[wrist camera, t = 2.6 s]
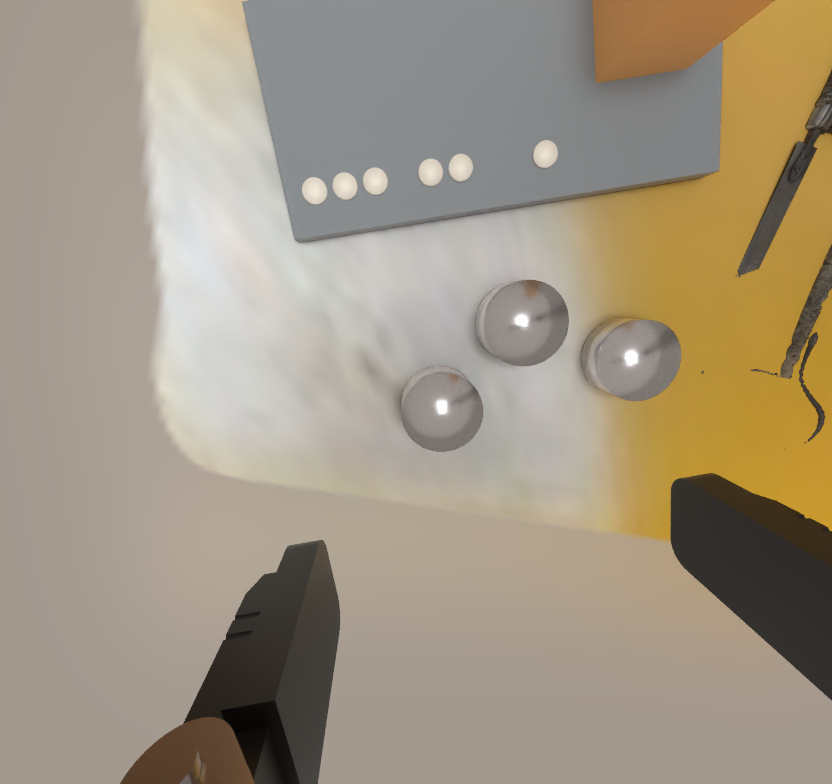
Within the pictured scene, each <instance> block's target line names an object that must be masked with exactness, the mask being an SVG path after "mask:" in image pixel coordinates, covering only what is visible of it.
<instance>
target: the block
mask: <svg viewBox="0 0 832 784" xmlns="http://www.w3.org/2000/svg"><path fill="white" fill-rule="evenodd" d="M773 1H774V0H592V2H593V26H594V51H595V75H596V83H601V82H607V81H614V80H620V79H626V78H633V77H639V76H645V75H652V74H658V73H665V72H671V71H677V70H684V69H688V68H689V67H690V66H691V65H693V64H694V63H695V62H696V61H698V60H699V59H700V58H702V57H703V56H704V55H705V54H707V53H708V52H709V51H711V50H712V49H713V48H714V47H716V46H717V45H718V44H719V43H721V42H722V41H723V40H725V39H726V38H727V37H728V36H730V35H731V34H732V33H734V32H735V31H736V30H737V29H739V28H740V27H741V26H743V25H744V24H745V23H746V22H748V21H749V20H750V19H751V18H753V17H754V16H755V15H757V14H758V13H759V12H760V11H762V10H763V9H764V8H766V7H767V6H768V5H769V4H771V3H772V2H773Z"/></svg>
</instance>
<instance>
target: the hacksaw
mask: <svg viewBox="0 0 832 784" xmlns="http://www.w3.org/2000/svg"><path fill="white" fill-rule="evenodd" d="M806 129H808V130H809V132H808V134H807V137H806V139H805V141H804V143H803V142H800V141H798V144H797V145H796V148H795V149H794V152H793V153H792V157H791V158H790V161H789V162H788V165H787V167H786V169H785V171H784V173H783V175H782V177H781V180H780V181H779V184H778V186H777V189H776V190H775V193H774V194H773V197H772V198H771V201H770V202H769V205H768V207H767V209H766V212H765V213H764V216H763V217H762V220H761V221H760V224H759V225H758V228H757V230H756V232H755V234H754V236H753V239H752V240H751V243H750V244H749V247H748V249H747V251H746V254H745V255H744V258H743V259H742V262H741V264H740V266H739V269H738V275H739V278H740V276H741V275H743V274H745V273H748V272H751V271H753V270H756V269H759V267H760V265H761V263H762V261H763V259H764V257H765V255H766V253H767V251H768V249H769V246H770V244H771V242H772V240H773V238H774V236H775V234H776V232H777V230H778V228H779V226H780V224H781V222H782V220H783V218H784V216H785V214H786V212H787V209H788V207H789V205H790V203H791V201H792V199H793V197H794V195H795V193H796V191H797V189H798V187H799V185H800V183H801V181H802V179H803V177H804V174H805V172H806V170H807V168H808V166H809V164H810V162H811V160H812V158H813V156H814V154H815V152H816V150H817V148H815V147H813V146H814V143H815V141H816V140H817V138H818V136H819V135H820V134H824V133H826V132H827V131H828V132H830V133H832V71H831V74H830V76H829V78H828V80H827V83H826V85H825V87H824V89H823V91H822V93H821V96H820V98H819V99H818V100H817V102H816V103H815V108H814V110H813V112H812V113H811V115H810V118H809V120H808V122H807V124H806ZM736 276H737V275H736ZM831 289H832V245H831V247H830V249H829V252H828V254H827V256H826V258H825V260H824V263H823V266H822V267H821V269H820V271H819V274H818V276H817V278H816V280H815V282H814V285H813V287H812V289H811V292H810V294H809V296H808V299H807V301H806V303H805V306H804V308H803V310H802V313H801V315H800V318H799V321H798V323H797V326H796V328H795V331H794V334H793V337H792V343H791V345H790V346H789V348H788V350H787V353H786V359H785V360H784V363H783V364H782V367H781V373H780V377H783V378H788V379H791V377H792V376H791V375H792V372H793V366H794V365H795V364H796V363H797V362H798V360H799V358H800V353H801V350H802V349H803V347H804V346H805V343H806V341H807V339H808V338H809V334H810V332H811V331H812V328H813V326H814V324H815V322H816V320H817V318H818V315H819V314H820V311H819V310H821V309H822V307H821V304H822V302H823V301H824V300H825V299H826V298H827V297H828V292H829V291H830V290H831ZM817 339H818V335H817V332H816V333H814V334H813V335H812V336H811V337H810V339H809V342H808V347H807V349H806V352H805V354H804V357H803V362H802V363H801V369H800V370H799V374H800V377H799V381H800V382H801V386H802V387H803V391H804V392H805V393H806V396H807V397H808V398H809V401H810V402H811V403H812V405H813V406H814V407H815V408H816V411H817V413H818V415H819V418H818V425H817V428H816V431H815V432H814V433H813V435H812V437H810V438H809V439H808V441H810V440H811V439H812V438H813V437H815V436H816V435H817V433H818V432H819V431H820V430H821V428H822V426H823V424H824V419H825V416H824V411H823V410H822V407H821V406H820V404H819V403H818V402H817V401H816V400H815V399H814V398H813V396H812V395H811V394H810V393H809V390H808V389H807V388H806V386H805V385H804V384H803V383H804V381H803V379H802V376H803V370H804V365H805V363H806V361H807V358H808V357H809V355H810V352H811V350H812V348H813V347H814V345H815V344H816V342H817ZM750 371H758V372H764V373H768V374H770V373H769V371H768V372H766V371H762V370H758V369H753V370H750ZM701 373H702V374H703V373H704V371H702V372H701ZM777 374H778V373H775V374H773V373H771V375H777ZM777 377H778V376H777ZM804 443H806V442H804ZM784 449H785V448H784Z"/></svg>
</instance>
